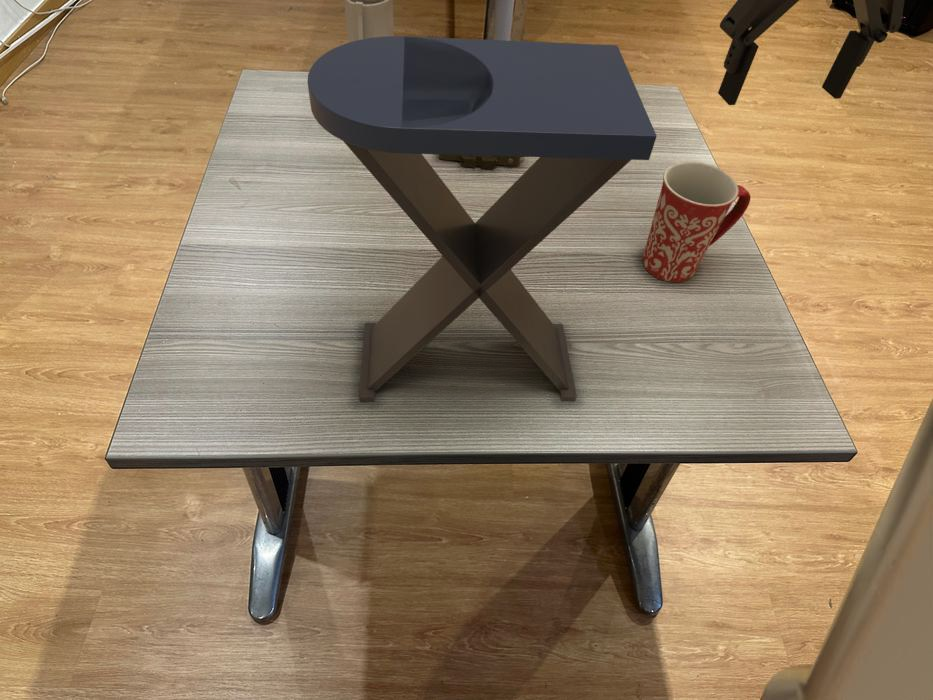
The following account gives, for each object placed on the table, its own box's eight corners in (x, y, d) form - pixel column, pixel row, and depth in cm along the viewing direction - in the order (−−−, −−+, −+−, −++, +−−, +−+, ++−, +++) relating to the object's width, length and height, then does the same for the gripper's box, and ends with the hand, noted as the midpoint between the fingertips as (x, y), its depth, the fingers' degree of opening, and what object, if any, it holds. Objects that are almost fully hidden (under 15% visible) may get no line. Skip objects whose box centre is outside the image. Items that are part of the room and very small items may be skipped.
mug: (651, 292, 85) (684, 208, 74) (624, 247, 90) (652, 163, 80) (736, 281, 87) (780, 198, 77) (705, 237, 93) (742, 155, 82)
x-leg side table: (559, 320, 81) (629, 45, 55) (577, 413, 72) (670, 136, 46) (349, 319, 79) (317, 32, 52) (340, 414, 70) (296, 124, 43)
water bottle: (358, 104, 110) (347, -61, 91) (403, 111, 110) (401, -53, 91) (341, 132, 104) (325, -38, 85) (388, 140, 104) (382, -30, 85)
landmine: (433, 149, 98) (442, 100, 108) (433, 165, 100) (441, 114, 110) (525, 158, 98) (525, 107, 108) (523, 173, 100) (523, 122, 110)
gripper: (967, -138, 63) (853, 74, 79) (737, -143, 58) (666, 84, 74) (1026, -115, 58) (892, 106, 74) (781, -118, 53) (695, 119, 69)
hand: (779, 96), depth 74 cm, fingers open, 13 cm apart
